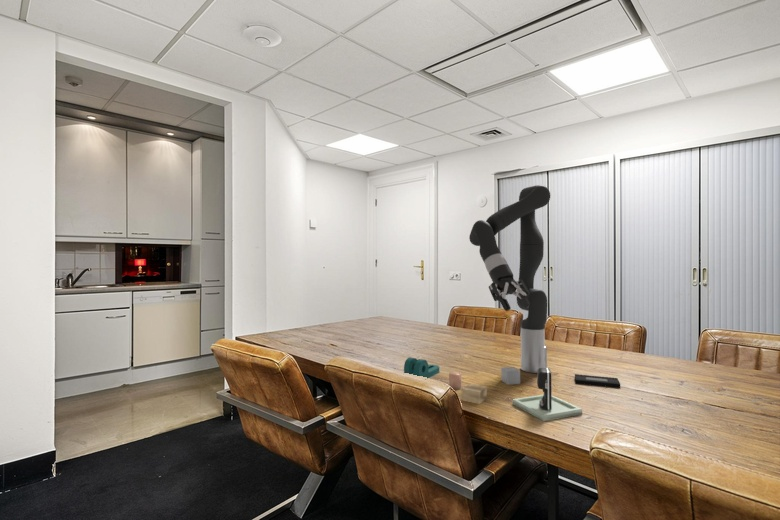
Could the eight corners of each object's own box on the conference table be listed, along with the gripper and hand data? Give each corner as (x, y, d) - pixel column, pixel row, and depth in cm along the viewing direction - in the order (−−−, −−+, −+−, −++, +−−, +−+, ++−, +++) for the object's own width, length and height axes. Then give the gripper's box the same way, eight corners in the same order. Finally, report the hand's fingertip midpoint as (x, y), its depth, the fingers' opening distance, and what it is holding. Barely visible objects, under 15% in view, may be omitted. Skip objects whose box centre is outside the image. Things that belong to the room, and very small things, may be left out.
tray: (548, 398, 132) (548, 393, 132) (582, 414, 119) (582, 408, 119) (512, 404, 128) (512, 399, 128) (543, 421, 114) (543, 415, 114)
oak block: (470, 395, 136) (470, 383, 136) (486, 399, 133) (486, 387, 133) (462, 400, 132) (462, 388, 131) (479, 404, 128) (479, 392, 128)
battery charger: (536, 401, 127) (536, 365, 127) (549, 403, 126) (549, 366, 126) (538, 410, 120) (537, 371, 120) (551, 411, 119) (551, 372, 119)
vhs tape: (574, 379, 154) (574, 374, 154) (617, 383, 149) (617, 378, 149) (575, 385, 147) (575, 379, 147) (620, 389, 142) (620, 384, 142)
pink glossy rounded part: (457, 384, 147) (457, 371, 147) (463, 388, 143) (463, 374, 143) (446, 386, 146) (446, 372, 146) (452, 390, 142) (452, 375, 142)
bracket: (419, 383, 150) (418, 362, 150) (404, 379, 154) (403, 359, 154) (442, 371, 165) (442, 352, 165) (428, 369, 169) (428, 350, 169)
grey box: (513, 380, 153) (513, 366, 153) (520, 384, 148) (520, 370, 148) (501, 380, 152) (501, 367, 152) (507, 384, 147) (507, 371, 147)
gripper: (487, 264, 140) (507, 305, 132) (519, 261, 146) (540, 300, 138) (477, 276, 146) (496, 316, 138) (508, 273, 152) (528, 311, 144)
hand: (518, 308), depth 138 cm, fingers open, 8 cm apart
